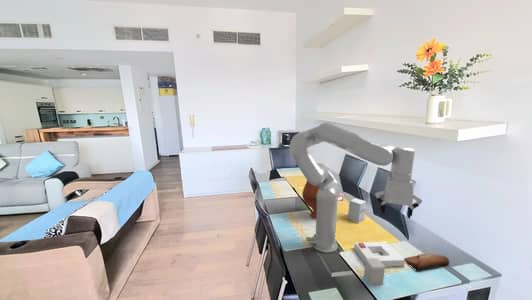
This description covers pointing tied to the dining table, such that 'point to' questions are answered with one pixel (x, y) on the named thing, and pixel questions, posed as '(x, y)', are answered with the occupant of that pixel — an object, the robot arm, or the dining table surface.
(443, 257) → the sunglasses case
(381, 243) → the socket plate
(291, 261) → the dining table surface
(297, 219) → the dining table surface
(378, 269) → the plug
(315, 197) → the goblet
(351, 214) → the supplement box
